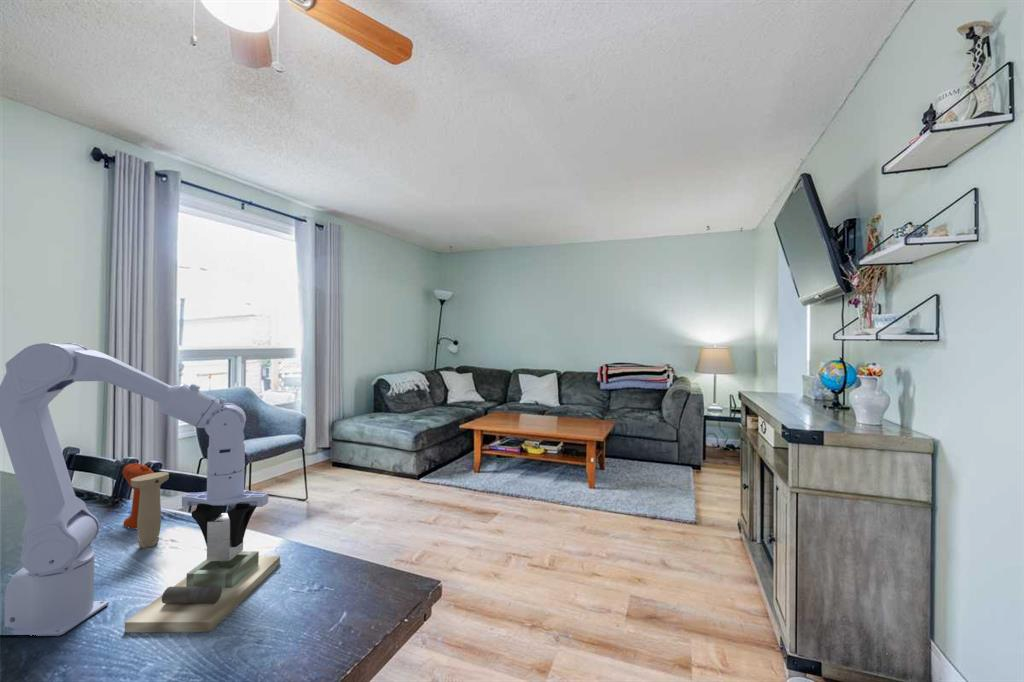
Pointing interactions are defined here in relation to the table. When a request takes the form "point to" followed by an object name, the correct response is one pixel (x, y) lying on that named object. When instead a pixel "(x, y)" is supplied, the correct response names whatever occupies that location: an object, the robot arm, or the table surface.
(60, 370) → the robot arm
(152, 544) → the handle
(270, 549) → the table surface
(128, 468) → the toy drill
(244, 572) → the block
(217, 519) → the key peg
